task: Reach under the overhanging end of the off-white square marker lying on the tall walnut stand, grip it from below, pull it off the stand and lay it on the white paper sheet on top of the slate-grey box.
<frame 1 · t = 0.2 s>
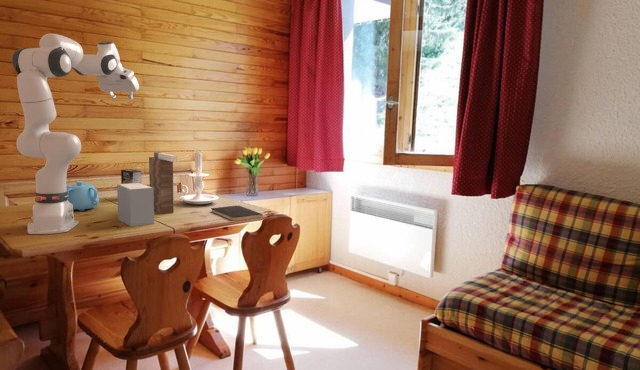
hand: (122, 98, 244), 54 cm above the table, tool tilted 30°, fingers open, 8 cm apart
candlestick: (196, 203, 255), on the table
walnut stand: (161, 210, 231), on the table
decorative pot: (80, 209, 230), on the table
hardcover book: (236, 215, 230), on the table
marker: (165, 159, 224), point 26 cm above the table, touching walnut stand
paper box: (135, 221, 209), on the table
coffee box: (131, 199, 259), on the table
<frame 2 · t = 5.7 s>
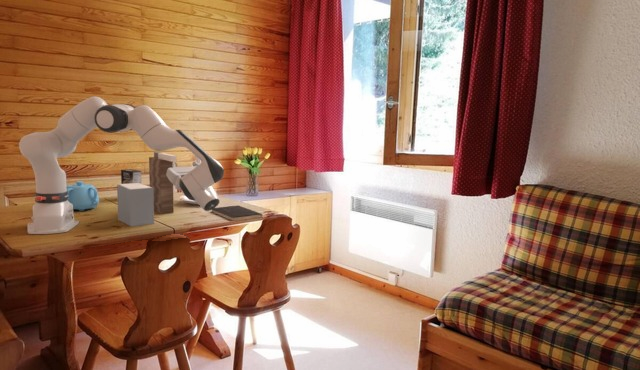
hand: (184, 163, 209), 26 cm above the table, tool pointing upward, fingers open, 8 cm apart
nothing on the table moved.
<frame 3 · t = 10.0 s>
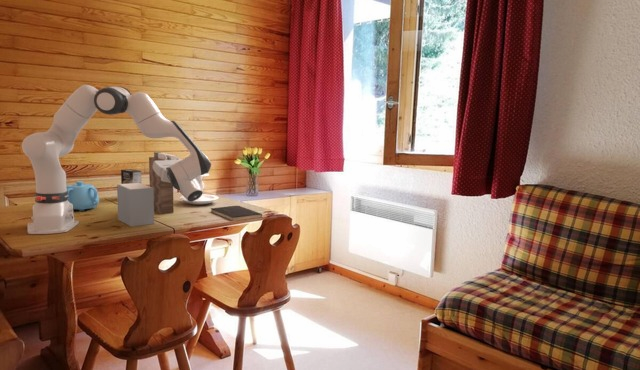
hand: (169, 156, 219), 28 cm above the table, tool pointing upward, fingers closed on marker, 3 cm apart
marker: (165, 159, 224), point 26 cm above the table, touching gripper, walnut stand
everything else where it was.
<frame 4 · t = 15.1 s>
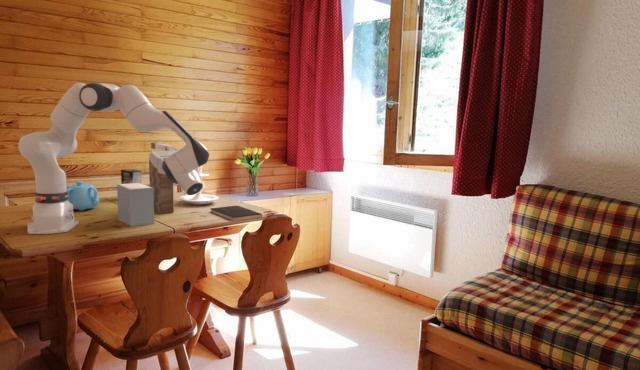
hand: (168, 147, 204), 33 cm above the table, tool pointing upward, fingers closed on marker, 3 cm apart
marker: (162, 150, 208), point 32 cm above the table, touching gripper
everything else where it was.
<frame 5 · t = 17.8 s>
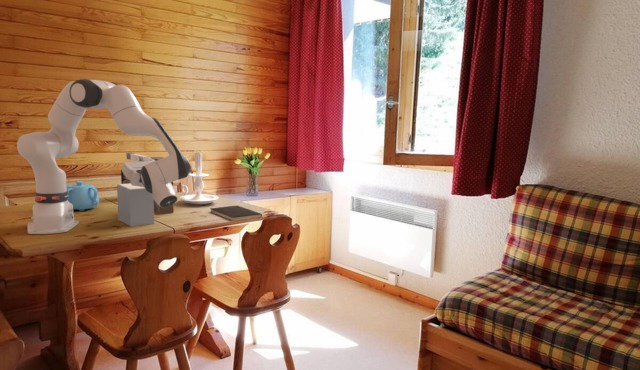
hand: (142, 157, 197), 29 cm above the table, tool pointing upward, fingers closed on marker, 3 cm apart
marker: (137, 160, 201), point 27 cm above the table, touching gripper
everything else where it was.
when the fingers open (19 cm above the table, at t = 20.2 s): marker drops 1 cm, resting on paper box.
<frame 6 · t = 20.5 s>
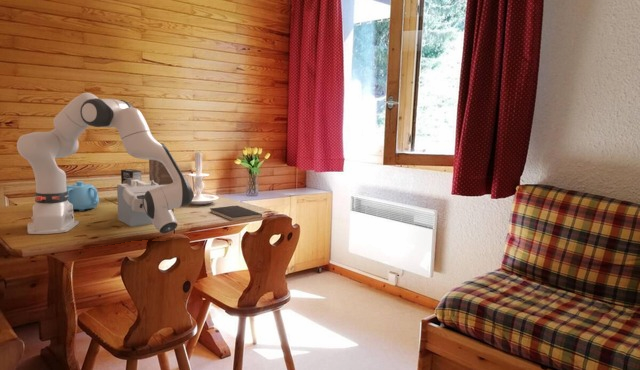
hand: (143, 182, 199), 19 cm above the table, tool pointing upward, fingers open, 5 cm apart
marker: (138, 187, 203), point 16 cm above the table, touching paper box
everything else where it was.
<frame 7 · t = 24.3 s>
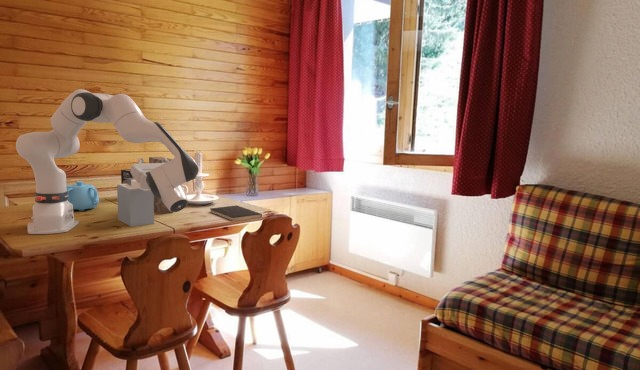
hand: (151, 159, 189), 30 cm above the table, tool pointing upward, fingers open, 8 cm apart
nothing on the table moved.
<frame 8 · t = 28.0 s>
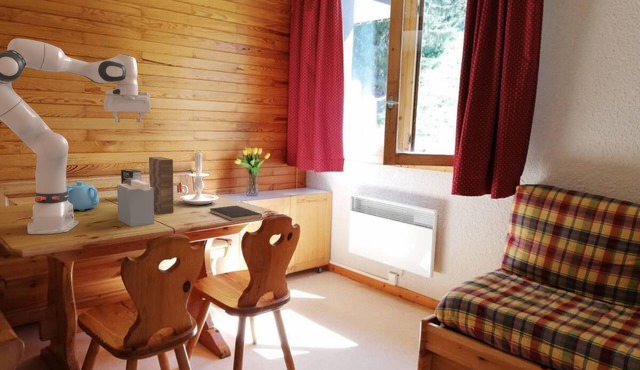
hand: (128, 122, 215), 43 cm above the table, tool pointing down, fingers open, 8 cm apart
nothing on the table moved.
at the end: marker inside the target area on the paper box (0.3 cm from its centre), point 16.0 cm above the paper box's base; marker touching paper box; the gripper is holding nothing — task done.
